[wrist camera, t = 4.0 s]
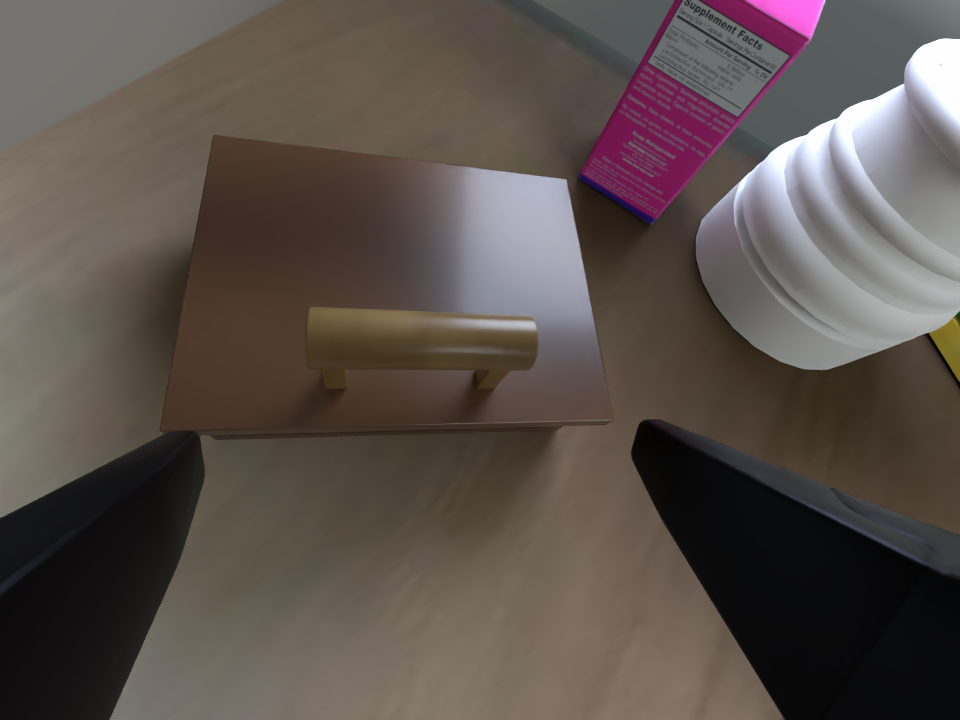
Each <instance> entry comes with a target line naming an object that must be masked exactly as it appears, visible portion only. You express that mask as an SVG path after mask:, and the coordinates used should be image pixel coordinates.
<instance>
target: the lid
mask: <svg viewBox="0 0 960 720" xmlns="http://www.w3.org/2000/svg"><path fill="white" fill-rule="evenodd" d="M613 420H614V418H613V413H612V408H611V403H610V398H609V392H608V387H607V382H606V377H605V372H604V367H603V362H602V356H601V351H600V346H599V341H598V336H597V331H596V326H595V320H594V315H593V310H592V305H591V300H590V295H589V290H588V284H587V279H586V274H585V269H584V264H583V259H582V254H581V248H580V243H579V238H578V233H577V228H576V223H575V218H574V213H573V207H572V202H571V197H570V192H569V187H568V182H567V179H561V178H553V177H545V176H537V175H529V174H521V173H513V172H505V171H497V170H489V169H481V168H473V167H465V166H457V165H449V164H441V163H433V162H425V161H417V160H409V159H401V158H393V157H385V156H377V155H369V154H361V153H353V152H345V151H338V150H330V149H322V148H314V147H306V146H298V145H290V144H282V143H274V142H266V141H258V140H250V139H242V138H234V137H226V136H218V135H214V136H213V140H212V145H211V151H210V156H209V162H208V167H207V173H206V178H205V183H204V189H203V194H202V200H201V205H200V211H199V216H198V222H197V227H196V233H195V238H194V243H193V249H192V254H191V260H190V265H189V271H188V276H187V282H186V287H185V293H184V298H183V303H182V309H181V314H180V320H179V325H178V331H177V336H176V342H175V347H174V352H173V358H172V363H171V369H170V374H169V380H168V385H167V391H166V396H165V402H164V407H163V412H162V418H161V423H160V429H159V430H160V432H161V433H163V434H166V433H168V432H171V431H195V432H197V433H198V435H199V436H207V435H245V434H283V433H320V432H358V431H396V430H434V429H471V428H509V427H547V426H585V425H606V424H608V423H610V422H612V421H613Z"/></svg>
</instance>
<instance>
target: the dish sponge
mask: <svg viewBox="0 0 960 720" xmlns="http://www.w3.org/2000/svg"><path fill="white" fill-rule="evenodd" d="M929 334H930V336H931V337H932V339H933V341H934V342H935V344H936V345H937V347H938V349H939V350H940V352H941V353H942V355H943V356H944V358H945V360H946V361H947V363H948V364H949V366H950V368H951V369H952V371H953V372H954V374H955V375H956V377H957V379H958V380H959V382H960V311H959V312H958V313H957V314H956V315H955V316H954V317H953V318H952V319H951V320H950V321H949V322H948V323H947V324H945V325H944V326H942V327H940V328H939V329H937V330H935V331H933V332H929Z"/></svg>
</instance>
